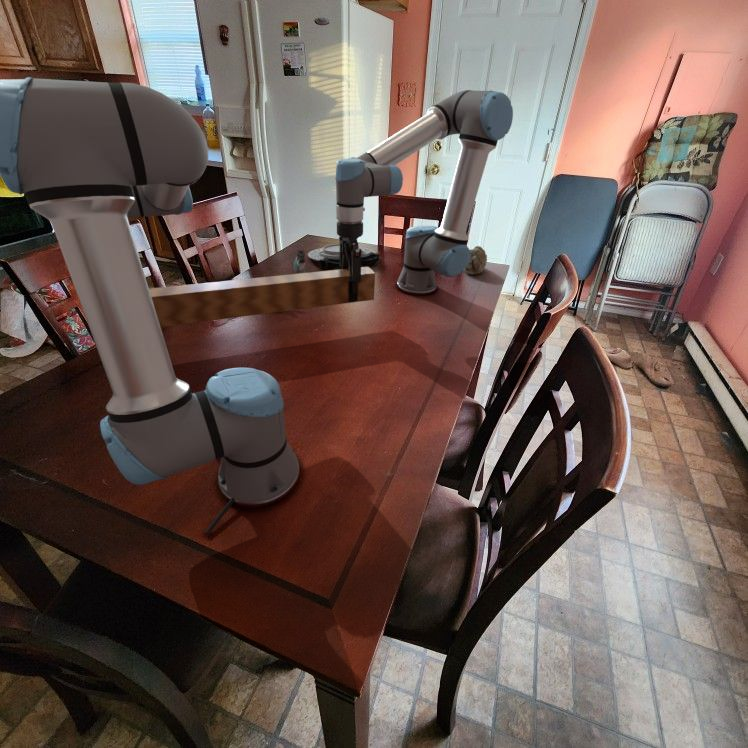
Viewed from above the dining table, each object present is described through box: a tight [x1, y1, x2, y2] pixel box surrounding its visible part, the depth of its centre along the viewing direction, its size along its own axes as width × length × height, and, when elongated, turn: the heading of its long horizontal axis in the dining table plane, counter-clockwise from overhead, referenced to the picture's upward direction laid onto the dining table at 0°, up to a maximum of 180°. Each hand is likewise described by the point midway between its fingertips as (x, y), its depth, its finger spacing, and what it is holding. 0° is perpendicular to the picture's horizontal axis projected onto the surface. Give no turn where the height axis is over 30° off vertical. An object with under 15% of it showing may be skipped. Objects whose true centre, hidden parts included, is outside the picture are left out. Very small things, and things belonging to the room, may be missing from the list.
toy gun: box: [293, 249, 306, 274], centre depth 159 cm, size 4×19×10 cm
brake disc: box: [307, 243, 380, 270], centre depth 182 cm, size 32×30×5 cm
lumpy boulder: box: [464, 245, 488, 275], centre depth 176 cm, size 11×11×15 cm
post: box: [149, 266, 376, 328], centre depth 117 cm, size 74×6×9 cm, turn 111°
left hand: (136, 323), depth 110 cm, fingers closed on post, 6 cm apart
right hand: (349, 296), depth 129 cm, fingers closed on post, 6 cm apart
